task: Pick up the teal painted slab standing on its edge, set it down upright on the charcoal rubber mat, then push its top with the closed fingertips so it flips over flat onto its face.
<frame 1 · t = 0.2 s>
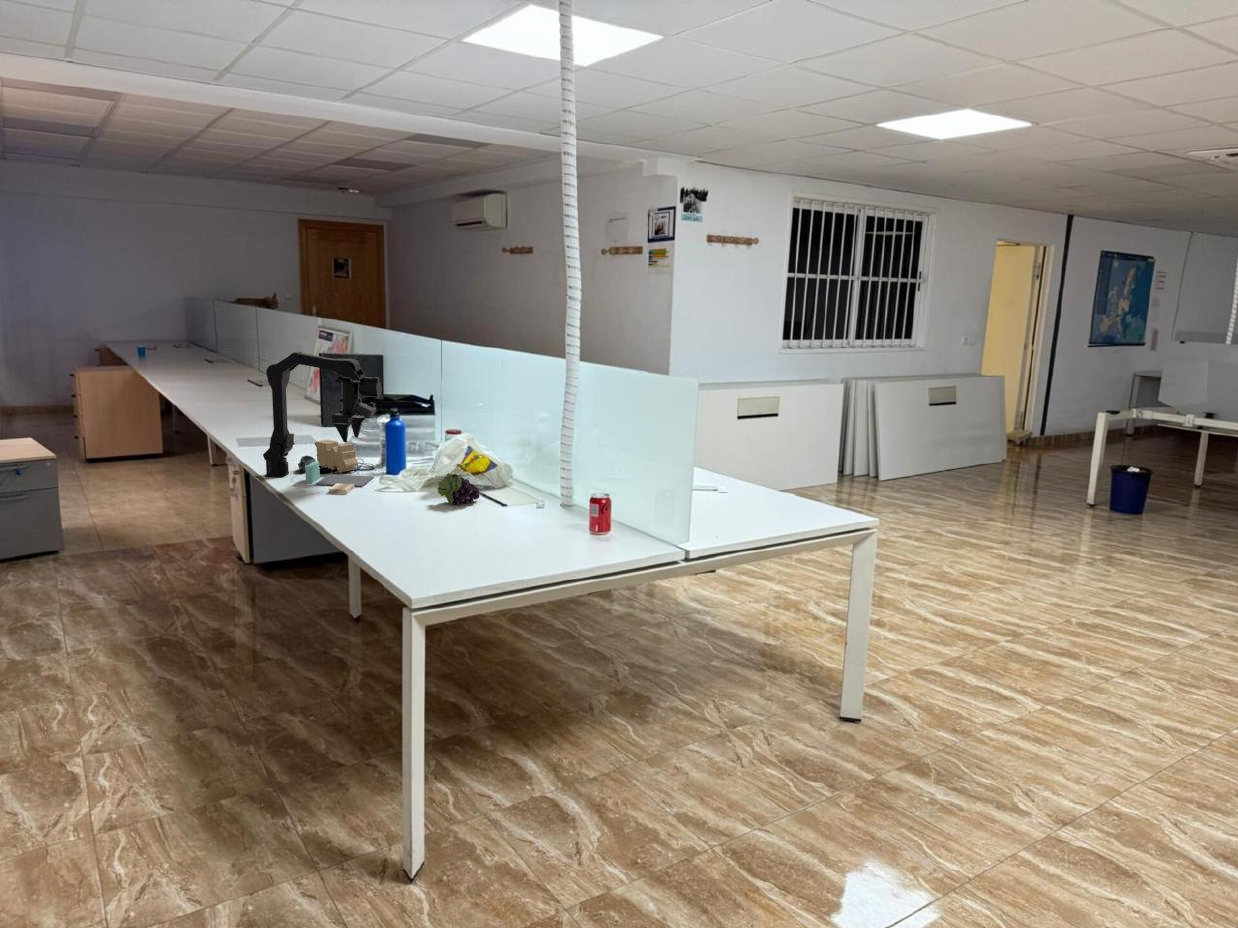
hand: (350, 439, 306), 14 cm above the table, fingers open, 9 cm apart
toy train: (336, 470, 322), on the table
fruit: (458, 503, 283), on the table
mat: (345, 481, 304), on the table
teal slab: (313, 481, 303), on the table
birch slab: (341, 492, 292), on the table
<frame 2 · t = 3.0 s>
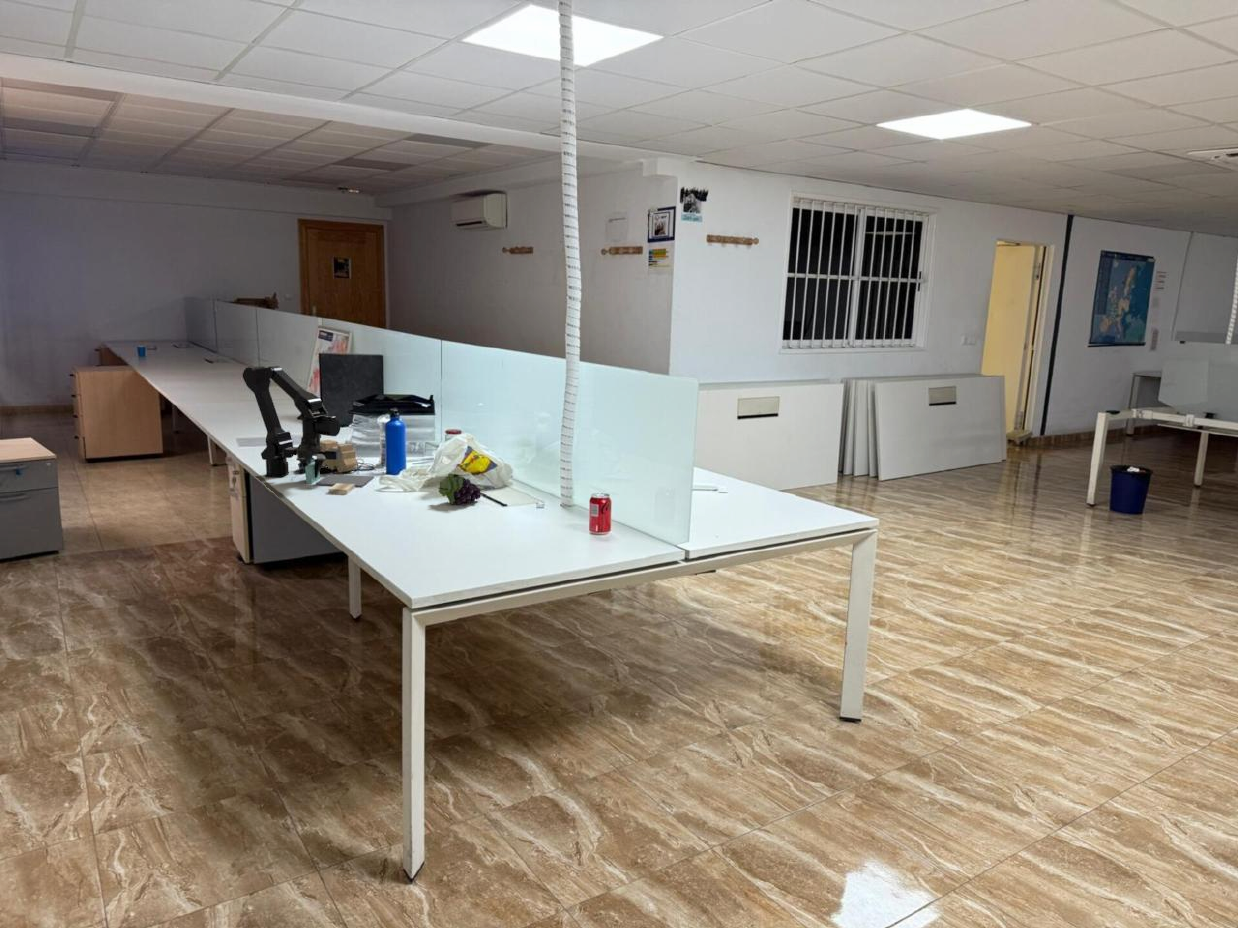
hand: (312, 477, 303), 1 cm above the table, fingers closed on teal slab, 2 cm apart
teal slab: (313, 480, 303), on the table, touching gripper
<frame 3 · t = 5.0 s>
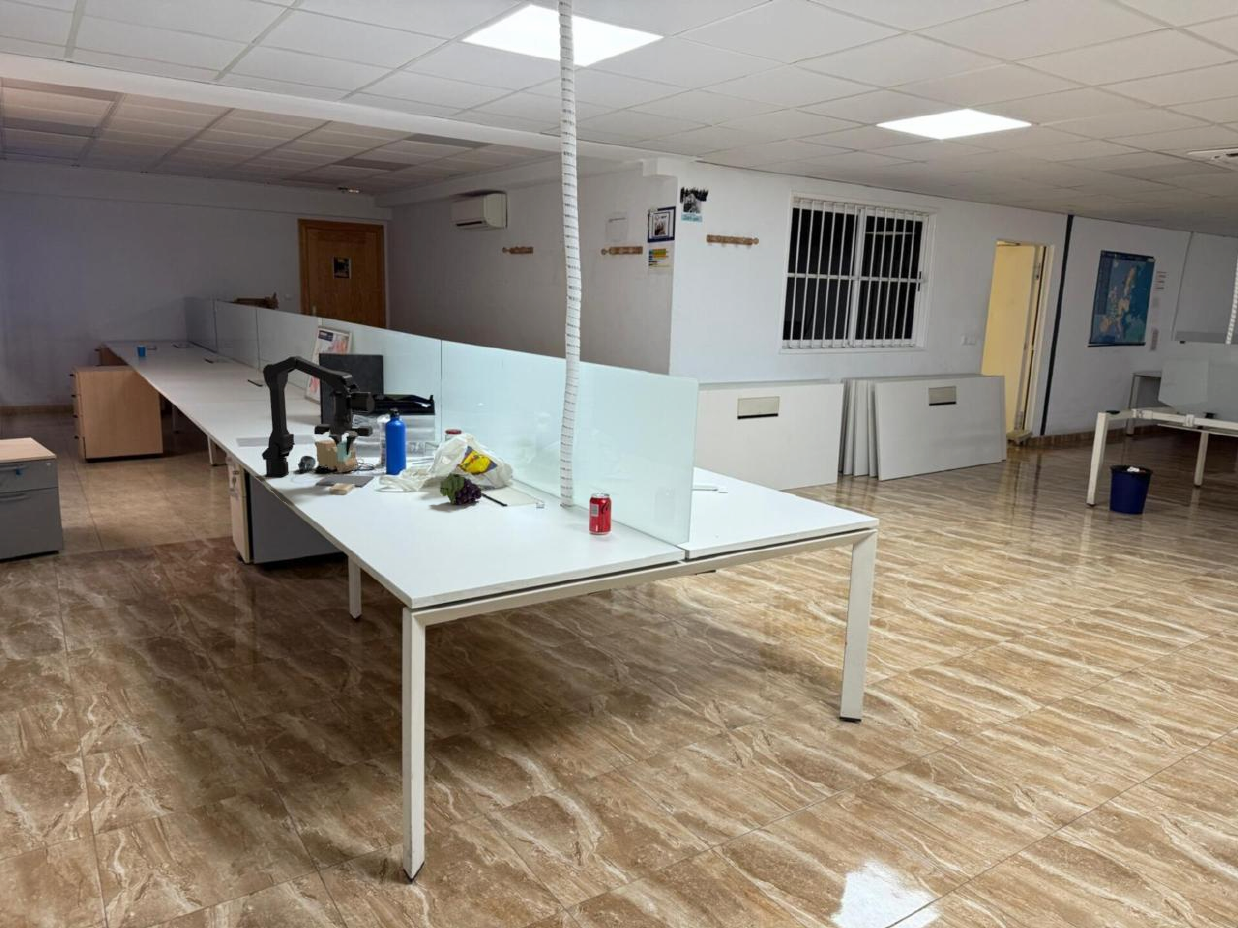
hand: (344, 454, 302), 10 cm above the table, fingers closed on teal slab
teal slab: (344, 459, 302), point 8 cm above the table, touching gripper
everything else where it was.
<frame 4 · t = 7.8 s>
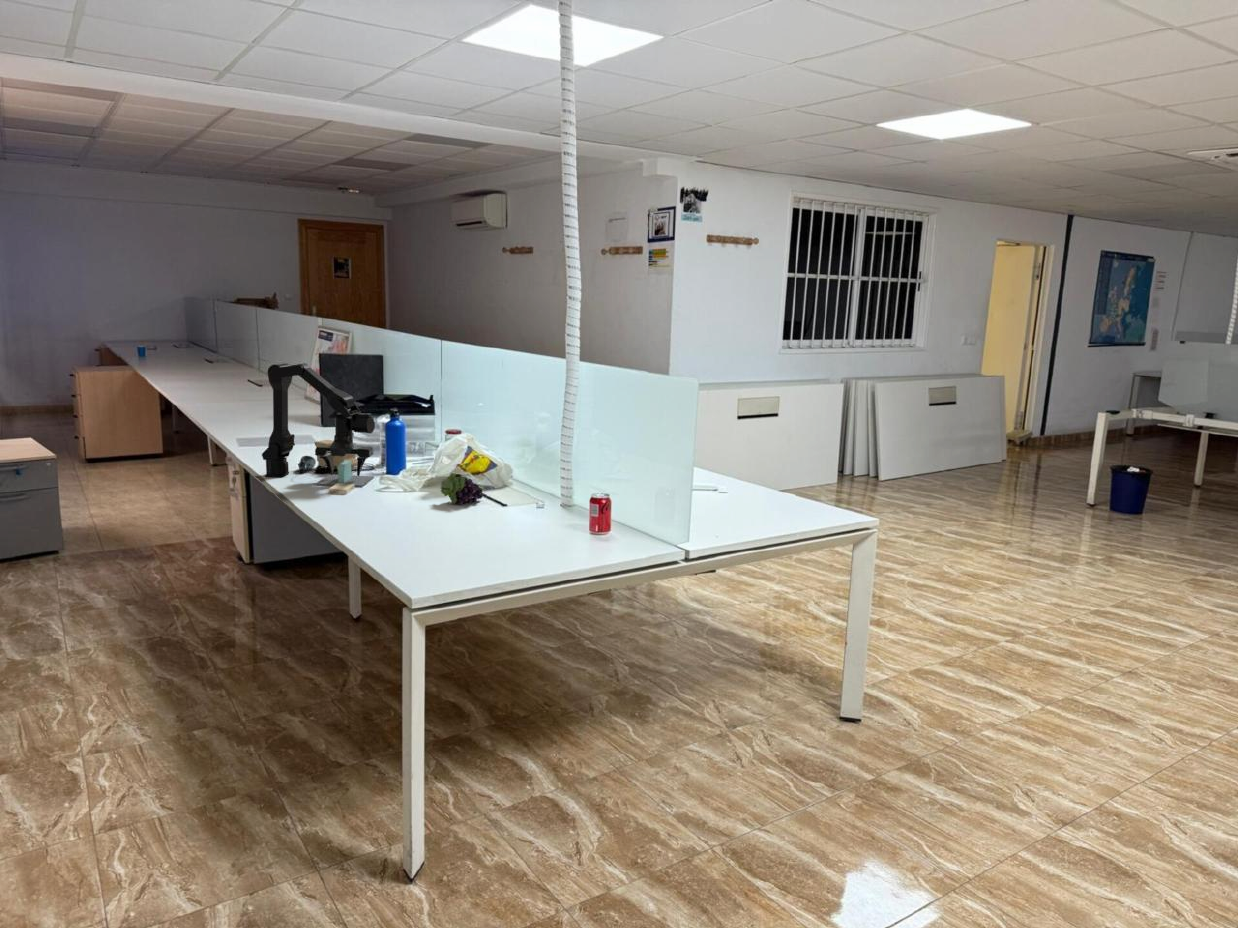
hand: (345, 475, 304), 2 cm above the table, fingers open, 9 cm apart
teal slab: (345, 479, 304), point 1 cm above the table, touching mat
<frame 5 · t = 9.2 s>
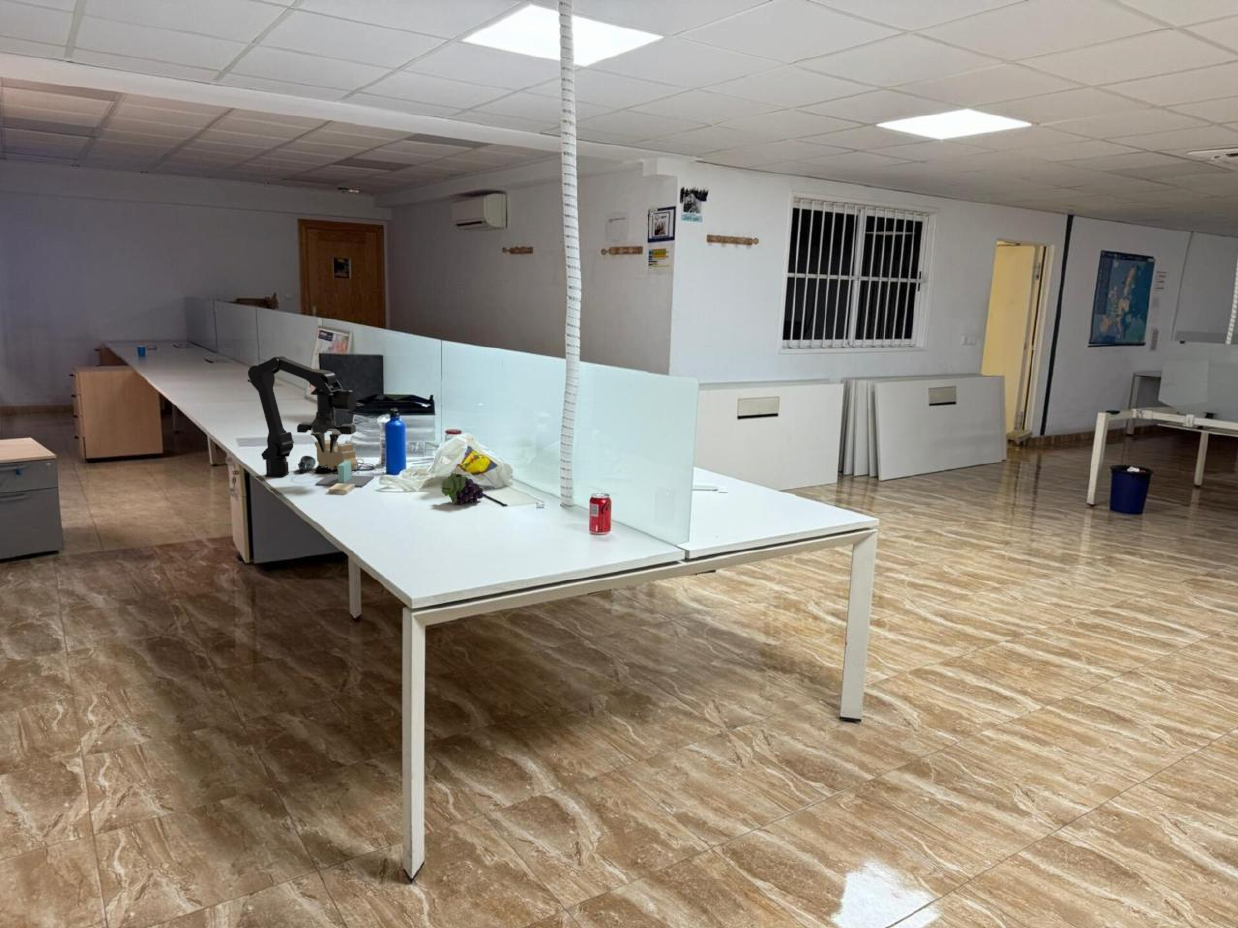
hand: (327, 452, 302), 10 cm above the table, fingers closed
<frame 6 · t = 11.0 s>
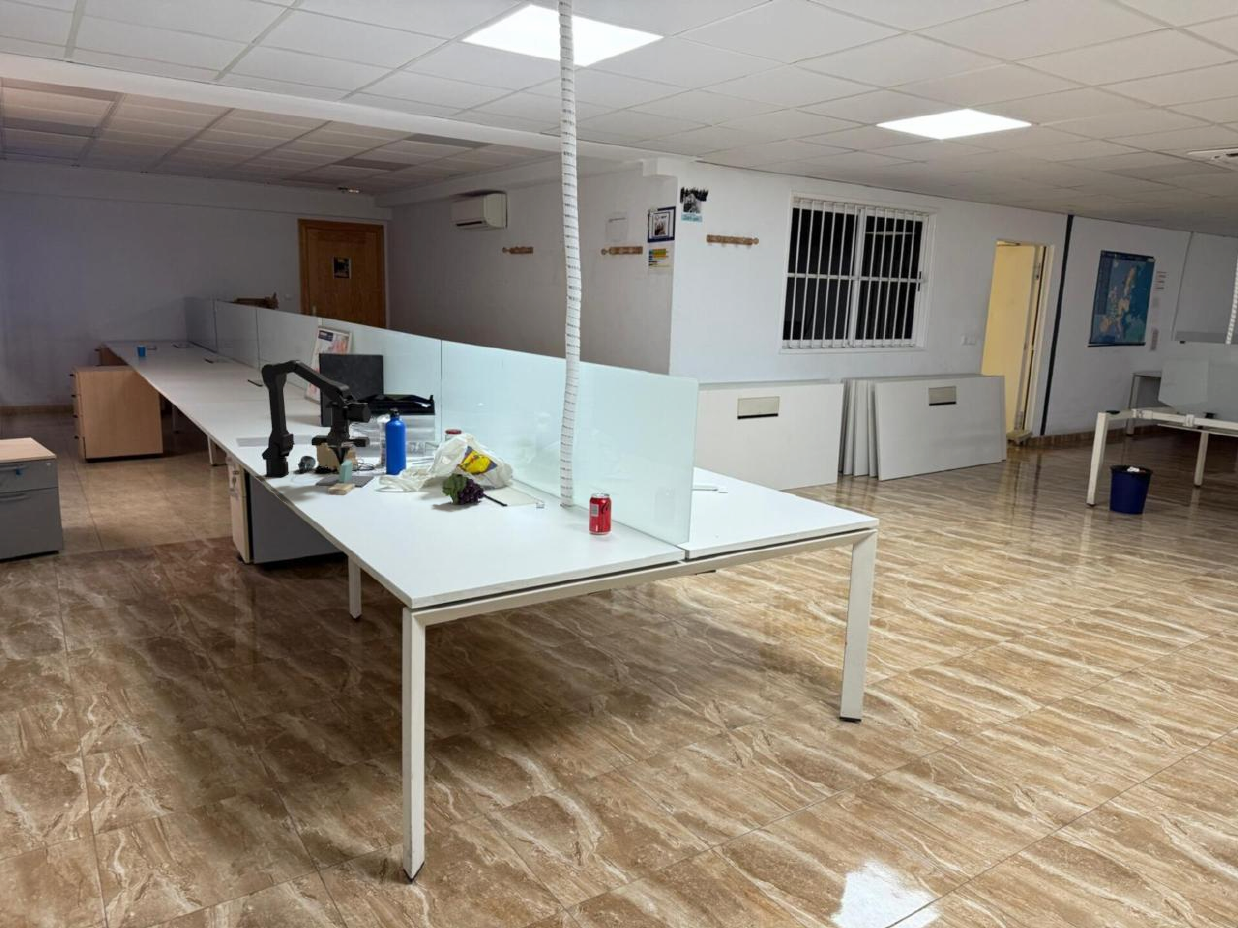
hand: (341, 465, 303), 6 cm above the table, fingers closed
teal slab: (345, 479, 304), point 1 cm above the table, tilted 8°, touching gripper, mat
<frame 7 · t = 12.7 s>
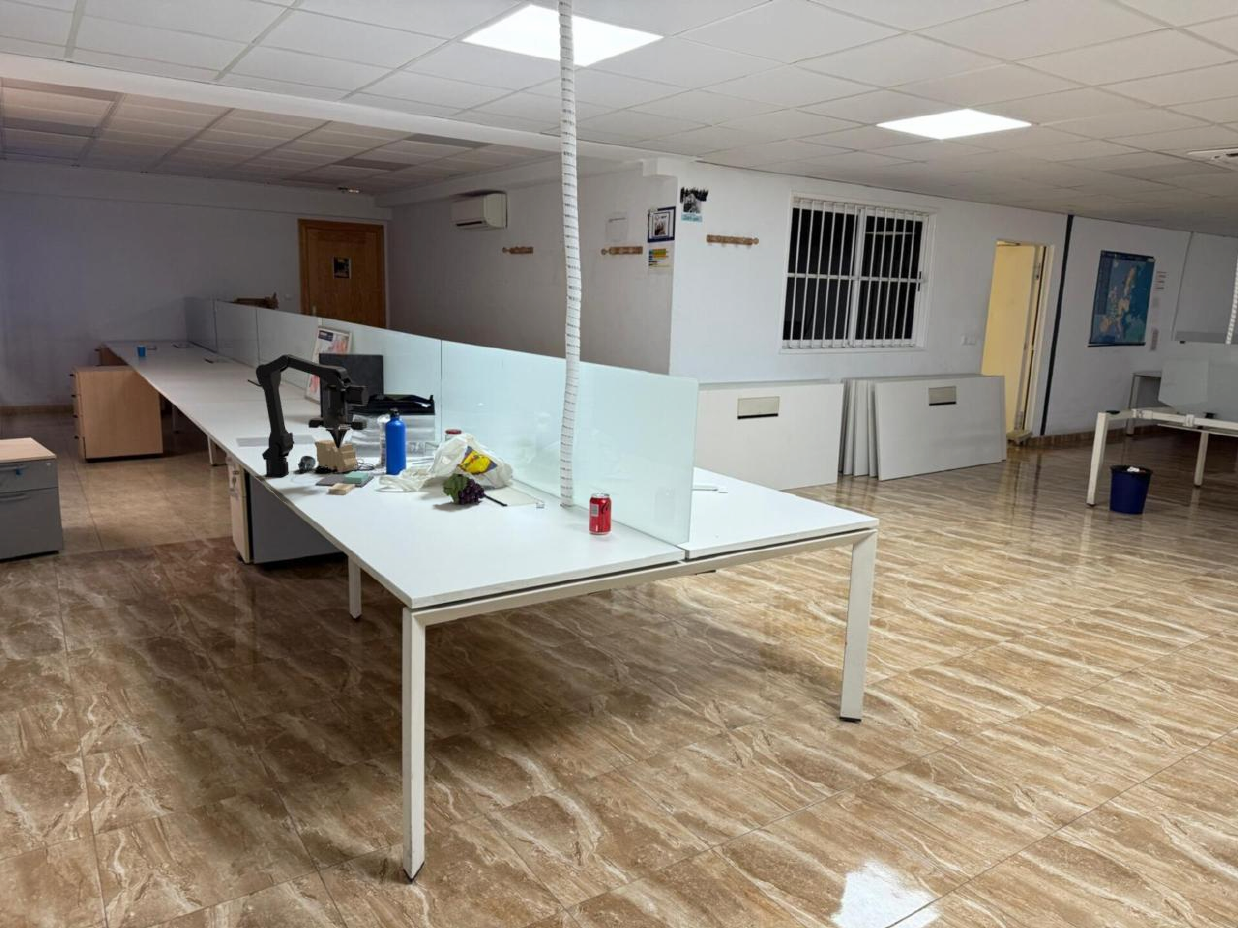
hand: (338, 448, 304), 11 cm above the table, fingers closed
teal slab: (347, 477, 304), point 2 cm above the table, tilted 90°, touching mat
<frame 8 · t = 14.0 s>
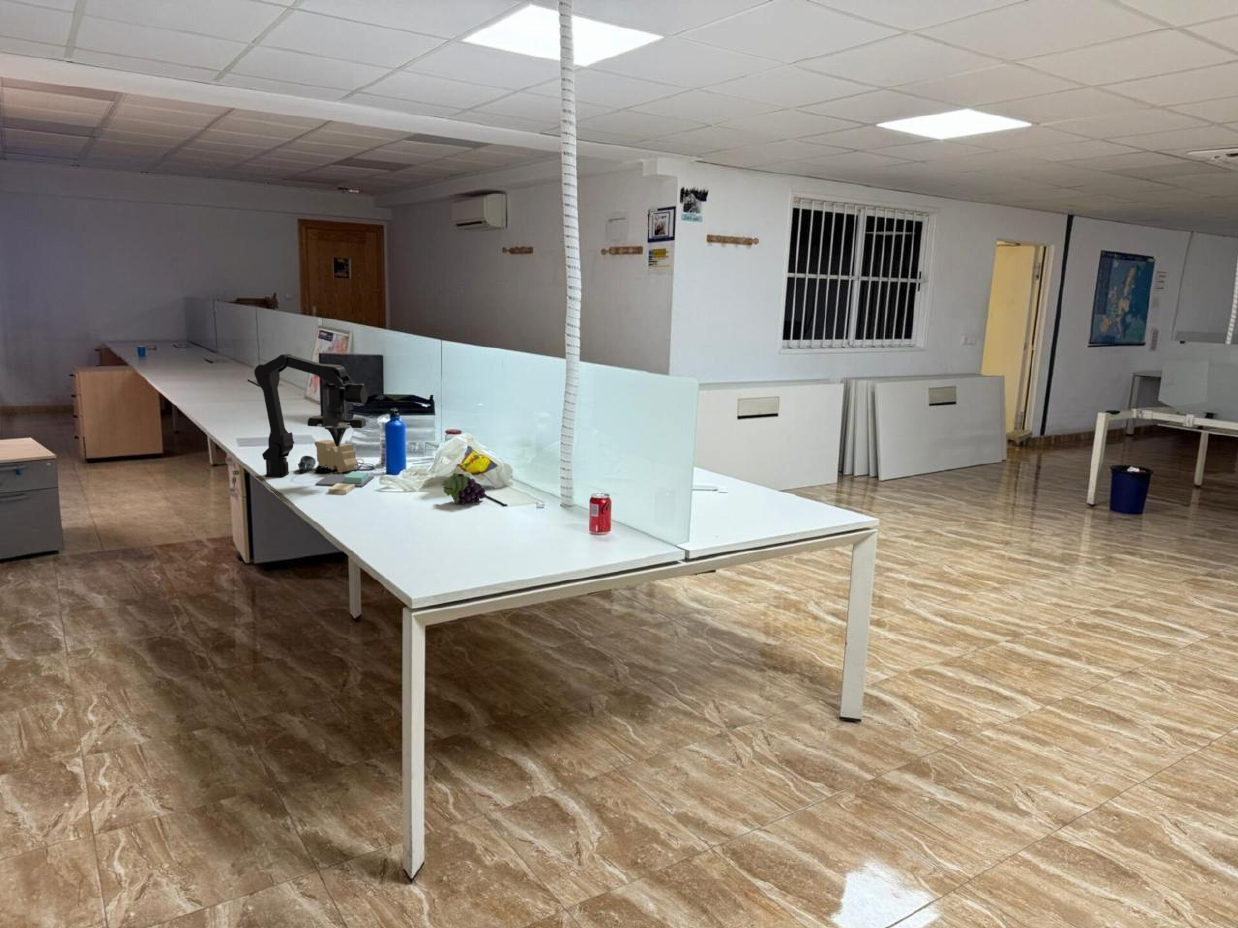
hand: (337, 446, 304), 12 cm above the table, fingers closed
at the end: teal slab tilted 90°; teal slab inside the target area on the mat (1.0 cm from its centre), point 1.6 cm above the mat's base; the gripper is holding nothing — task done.
